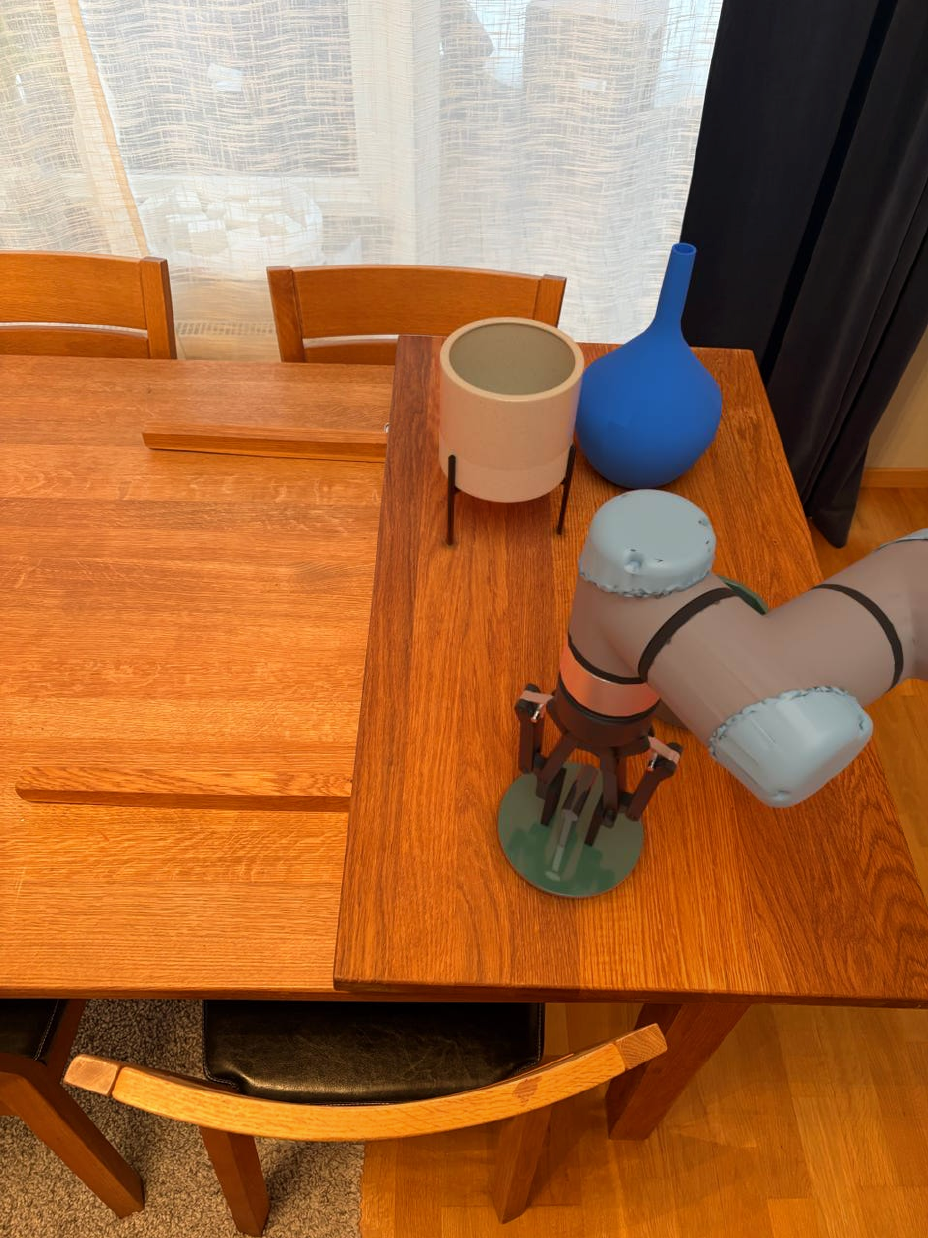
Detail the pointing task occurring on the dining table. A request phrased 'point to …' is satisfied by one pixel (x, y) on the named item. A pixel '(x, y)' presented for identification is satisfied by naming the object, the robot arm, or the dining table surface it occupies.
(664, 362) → the vase
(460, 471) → the planter
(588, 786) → the lid
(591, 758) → the dining table surface
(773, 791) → the robot arm
